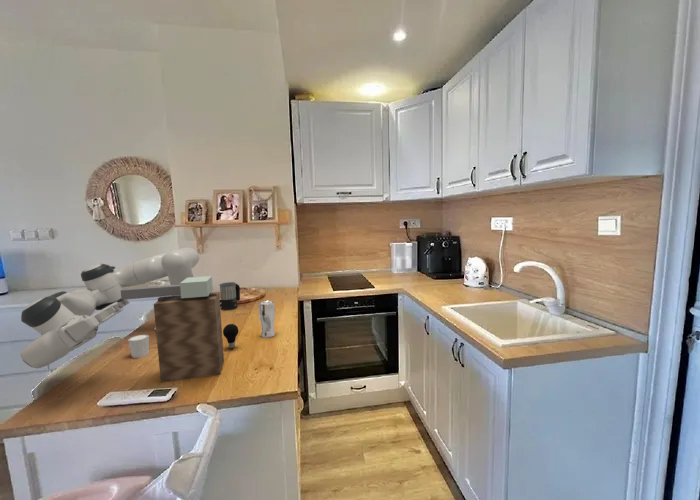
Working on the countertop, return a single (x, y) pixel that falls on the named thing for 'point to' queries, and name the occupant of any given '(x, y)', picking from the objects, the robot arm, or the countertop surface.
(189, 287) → the grey mallet
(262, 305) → the beer glass
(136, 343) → the white short cylinder
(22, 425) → the countertop surface
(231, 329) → the light bulb
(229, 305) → the milk frother
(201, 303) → the walnut stand
